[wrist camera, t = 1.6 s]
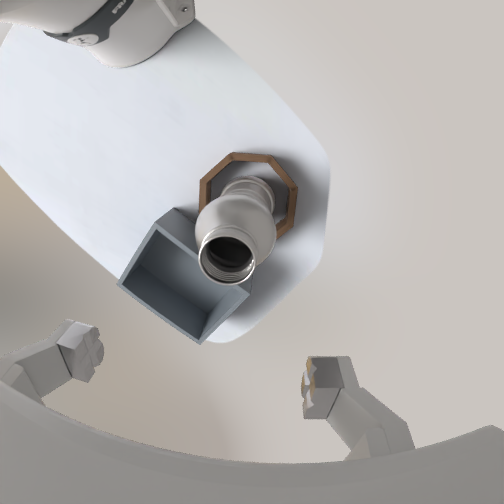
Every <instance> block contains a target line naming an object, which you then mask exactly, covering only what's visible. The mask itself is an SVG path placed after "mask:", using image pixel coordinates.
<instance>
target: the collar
mask: <svg viewBox="0 0 504 504" xmlns="http://www.w3.org/2000/svg"><path fill="white" fill-rule="evenodd" d="M233 160H238V161H252V162H264V163H269V165H270V166H271V167H272V168H273V169H274V170H275V172H276V173H277V174H278V175H279V176H280V178H281V179H282V180H283V181H284V182H285V184H286V185H287V186H288V187H289V190H288V199H287V208H286V217H285V218H284V219H282V220H281V221H280V222H278V223H277V224H276V225H275V226H276V234H277V236H276V239H278V238H279V237H280V236H282V235H283V234H284V233H285V232H287V231H288V230H289V229H291V228H292V227H293V224H294V216H295V207H296V199H297V190H298V187H297V186H296V184H295V183H294V182H293V181H292V179H291V178H290V177H289V176H288V175H287V173H286V172H285V171H284V170H283V169H282V167H281V166H280V165H279V164H278V163H277V161H276V160H275V159H274V158H273V157H272V156H271V155H263V154H250V153H236V152H232V153H230V154H228V155H227V156H226V157H225V158H224V159H223V160H222V161H220V162H219V163H218V164H217V165H216V166H215V167H214V168H213V169H211V170H210V171H209V172H208V173H207V174H206V175H205V176H204V177H203V178H202V179H200V192H199V214H200V213H201V211H202V210H203V209H204V208H205V206H207V205H208V204H209V203H210V196H211V179H213V178H214V177H215V176H216V175H217V174H218V173H219V172H220V171H222V170H223V169H224V168H225V167H226V166H227V165H228V164H230V163H231V162H232V161H233Z"/></svg>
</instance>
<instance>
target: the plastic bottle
mask: <svg viewBox="0 0 504 504" xmlns="http://www.w3.org/2000/svg"><path fill="white" fill-rule="evenodd" d="M274 209H275V196H274V193H273V191H272V189H271V188H270V186H269V185H268V184H267V183H266V182H265V181H263V180H261V179H259V178H257V177H254V176H241V177H237V178H235V179H233V180H231V181H230V182H229V183H228V184H227V185H226V186H225V187H224V189H223V190H222V192H221V196H220V197H219V198H217V199H215V200H213V201H212V202H210V203H209V204H208V205H207V206H205V208H204V209H203V210H202V211H201V213H200V214H199V216H198V218H197V221H196V225H195V238H196V244H197V246H198V249H199V256H198V261H199V266H200V268H201V270H202V272H203V273H204V275H205V276H206V277H207V278H208V279H210V280H211V281H213V282H215V283H217V284H220V285H225V286H233V285H238V284H241V283H243V282H245V281H246V280H248V279H249V278H250V277H251V275H252V274H253V272H254V270H255V268H256V266H258V265H259V264H261V263H262V262H263V261H264V260H265V259H266V258H267V257H268V256H269V255H270V253H271V252H272V250H273V248H274V245H275V243H276V236H277V234H276V226H275V222H274V219H273V216H272V214H273V211H274Z"/></svg>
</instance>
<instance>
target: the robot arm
mask: <svg viewBox="0 0 504 504" xmlns="http://www.w3.org/2000/svg"><path fill="white" fill-rule="evenodd" d="M184 9H187V10H186V11H184V12H183V10H184ZM194 18H195V6H194V0H0V22H7V23H13V24H18V25H23V26H28V27H32V28H36V29H40V30H43V31H44V33H45V34H46V35H48V36H50V37H53V38H55V39H58V40H61V41H64V42H67V43H70V44H73V45H78V46H82V47H84V48H85V49H87V50H88V51H89V52H90V53H92V54H93V55H94V56H95V58H96V59H97V60H98V61H99V62H100V63H102V64H103V65H105V66H108V67H113V68H122V67H128V66H132V65H135V64H137V63H140V62H142V61H144V60H145V59H147V58H149V57H150V56H152V55H153V54H155V53H156V52H157V51H158V50H159V49H160V48H162V47H163V46H164V44H165V43H166V42H167V41H168V40H169V39H170V38H171V36H172V35H173V34H174V33H175V32H176V31H178V30H180V29H181V28H183V27H185V26H186V25H188V24H189V23H191V22H192V21H193V20H194ZM99 336H100V334H99V330H98V328H96V327H95V326H91V325H88V324H84V323H81V322H77V321H73V320H70V319H66V320H64V321H63V322H62V323H61V324H60V325H59V327H58V328H57V329H56V330H55V331H54V332H53V333H52V334H51V335H50V336H49V337H48V339H47V340H44V339H43V340H41V341H38V342H36V343H33V344H31V345H28V346H26V347H23V348H20V349H18V350H15V351H13V352H10V353H8V354H5V355H3V356H2V357H1V358H0V504H504V431H503V430H501V429H499V428H497V427H495V426H493V425H491V426H490V425H489V426H485V427H482V428H480V429H477V430H475V431H472V432H470V433H467V434H464V435H461V436H458V437H456V438H452V439H449V440H446V441H443V442H440V443H436V444H433V445H429V446H425V447H422V448H418V449H415V446H414V443H413V440H412V437H411V434H410V431H409V429H408V426H407V423H406V422H405V421H404V420H403V419H401V418H400V417H399V416H397V415H396V414H395V413H394V412H392V411H391V410H390V409H389V408H387V407H386V406H385V405H384V404H383V403H381V402H380V401H379V400H378V399H376V398H375V397H374V396H373V395H371V394H370V393H369V392H368V391H367V390H365V389H364V388H360V387H359V384H358V381H357V378H356V375H355V372H354V368H353V365H352V362H351V359H350V357H348V356H339V357H338V356H336V357H323V356H322V357H321V356H309V357H308V359H307V363H306V367H307V370H306V371H305V372H304V373H303V377H302V384H301V393H302V397H303V398H304V402H303V414H304V419H327V421H328V423H329V424H330V425H331V427H332V428H333V429H334V430H335V431H336V432H337V434H338V435H339V436H340V437H341V439H342V440H343V441H344V442H345V443H346V445H347V446H348V447H349V448H350V449H351V452H350V453H349V455H348V456H347V457H346V458H345V460H344V461H338V462H325V463H300V464H299V463H297V464H285V463H282V464H281V463H256V462H242V461H232V460H224V459H216V458H209V457H203V456H197V455H191V454H186V453H181V452H175V451H171V450H167V449H162V448H158V447H154V446H150V445H146V444H143V443H139V442H136V441H132V440H129V439H125V438H122V437H119V436H116V435H113V434H110V433H107V432H104V431H102V430H99V429H96V428H94V427H91V426H88V425H86V424H83V423H81V422H78V421H76V420H74V419H71V418H69V417H67V416H65V415H63V414H61V413H58V412H56V411H54V410H52V409H50V408H48V407H46V406H45V404H44V402H43V401H42V399H41V398H42V397H44V396H45V395H47V394H49V393H50V392H52V391H53V390H55V389H56V388H58V387H59V386H61V385H63V384H64V383H66V382H67V381H69V380H70V379H72V378H75V379H78V380H81V381H84V382H87V383H88V382H89V380H90V379H91V377H92V376H93V374H94V373H95V370H94V367H96V366H98V365H100V363H101V362H102V360H103V356H104V347H103V344H102V342H101V341H100V340H99V339H98V338H99Z"/></svg>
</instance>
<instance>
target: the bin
mask: <svg viewBox="0 0 504 504" xmlns="http://www.w3.org/2000/svg"><path fill="white" fill-rule="evenodd" d="M195 225H196V224H194V223H193V222H192V221H190V220H189V219H188V218H187V217H185V216H184V215H183V214H181V213H180V212H179V211H178V210H176V209H175V208H172V209H171V210H170V211H168V212H167V213H166V214H164V215H163V216H162V217H161V218H159V219H158V220H157V221H155V222H154V224H153V225H152V227H151V229H150V230H149V232H148V233H147V235H146V236H145V238H144V239H143V241H142V243H141V244H140V246H139V247H138V249H137V251H136V252H135V254H134V256H133V257H132V259H131V261H130V262H129V264H128V266H127V267H126V269H125V271H124V272H123V274H122V276H121V278H120V279H119V281H118V283H117V285H118V286H119V287H120V288H121V289H123V290H124V291H125V292H126V293H128V294H129V295H130V296H132V297H133V298H134V299H135V300H137V301H138V302H139V303H141V304H142V305H144V306H145V307H146V308H147V309H149V310H150V311H152V312H153V313H154V314H156V315H157V316H158V317H160V318H161V319H163V320H164V321H165V322H167V323H169V324H170V325H171V326H173V327H174V328H176V329H177V330H178V331H180V332H181V333H183V334H184V335H186V336H187V337H189V338H190V339H192V340H193V341H195V342H196V343H198V344H201V343H202V342H203V341H204V340H205V339H206V338H207V337H208V336H209V335H210V334H211V333H213V332H214V331H215V330H216V329H217V328H218V327H219V326H220V325H221V324H222V323H223V322H224V321H225V320H226V319H227V318H228V317H229V316H230V315H231V314H232V313H233V312H234V311H235V310H236V309H237V308H238V307H239V305H240V304H241V303H242V302H243V301H244V300H245V299H246V298H247V297H248V296H249V295H250V293H251V285H252V276H253V274H252V275H251V277H250V278H249V279H248V280H246V281H245V282H243V283H241V284H238V285H233V286H225V285H220V284H217V283H215V282H213V281H211V280H210V279H208V278H207V277H206V276H205V275H204V273H203V272H202V270H201V268H200V266H199V261H198V256H199V249H198V246H197V244H196V238H195Z"/></svg>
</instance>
